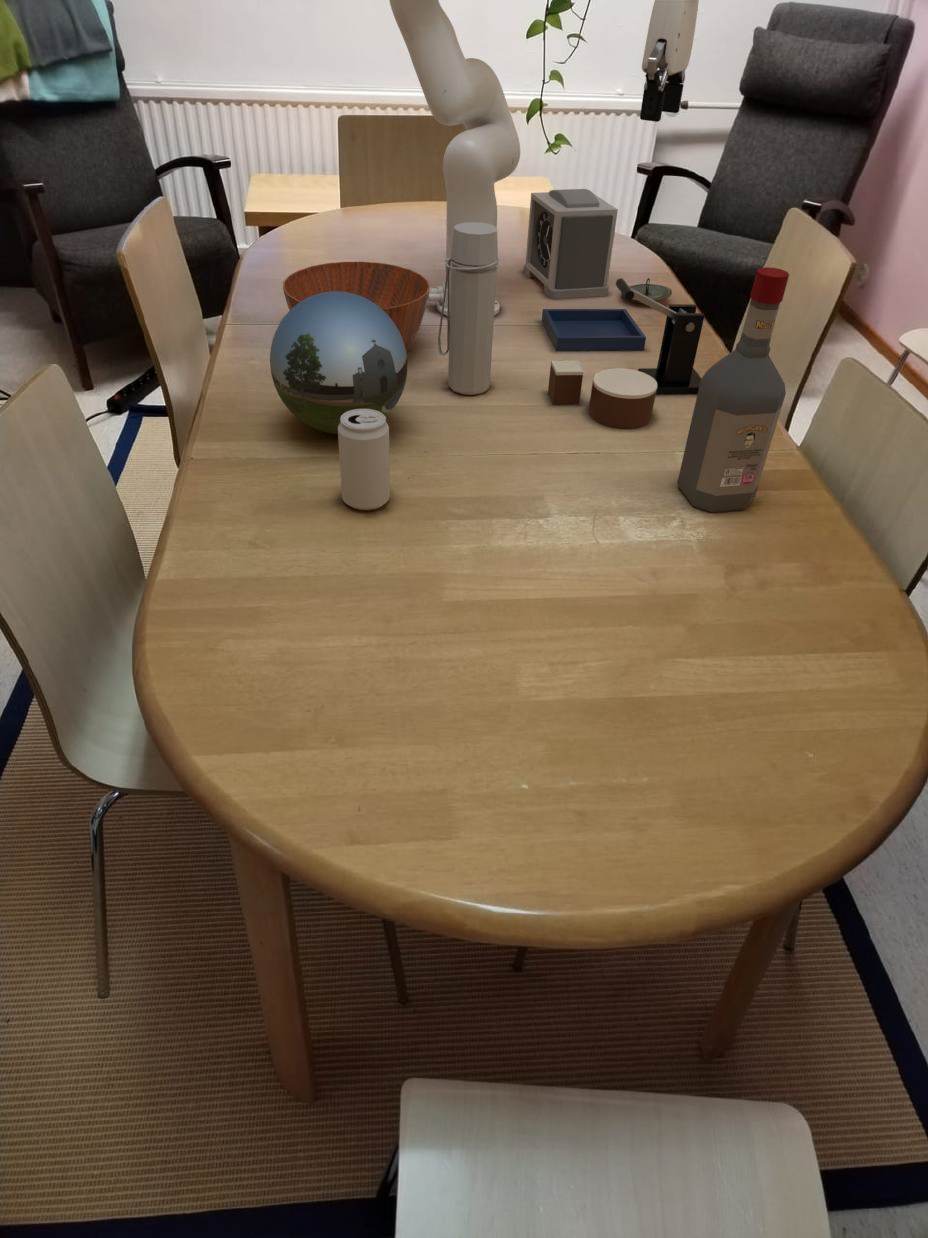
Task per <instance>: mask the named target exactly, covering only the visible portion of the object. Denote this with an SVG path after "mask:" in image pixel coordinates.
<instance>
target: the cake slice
mask: <svg viewBox="0 0 928 1238" xmlns="http://www.w3.org/2000/svg"><path fill="white" fill-rule="evenodd" d="M583 379H584V370H583V368H582V366H581V364H580V362H579V361H578V360H551V361H550V369H549V378H548V388H547V395H548V397H549V399H550V402H551V404H552V406H553V405H554V406H555V405H557V406H560V405H561V406H562V405H580V401H581V395H582V386H583Z"/></svg>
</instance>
